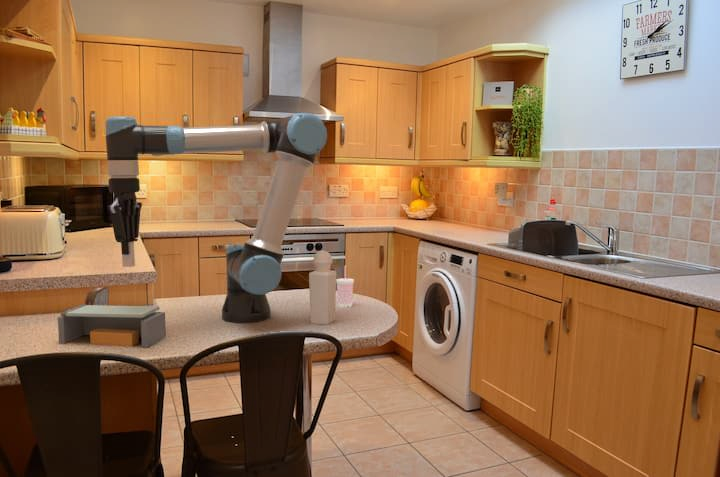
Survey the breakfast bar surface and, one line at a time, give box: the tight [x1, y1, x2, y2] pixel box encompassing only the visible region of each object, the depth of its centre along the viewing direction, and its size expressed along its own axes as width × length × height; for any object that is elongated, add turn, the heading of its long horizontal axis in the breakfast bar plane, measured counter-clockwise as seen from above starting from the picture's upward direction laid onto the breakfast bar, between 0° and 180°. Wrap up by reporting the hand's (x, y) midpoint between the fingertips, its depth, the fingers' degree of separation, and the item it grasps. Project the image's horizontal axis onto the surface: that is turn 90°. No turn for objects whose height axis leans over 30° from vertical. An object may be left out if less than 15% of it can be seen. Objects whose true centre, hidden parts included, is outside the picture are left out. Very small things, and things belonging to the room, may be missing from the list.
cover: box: [60, 303, 160, 318], centre depth 158 cm, size 23×9×1 cm, turn 81°
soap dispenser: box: [308, 249, 337, 326], centre depth 178 cm, size 6×6×22 cm
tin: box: [84, 285, 110, 306], centre depth 188 cm, size 15×3×8 cm, turn 5°
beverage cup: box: [336, 264, 355, 308], centre depth 200 cm, size 6×6×14 cm
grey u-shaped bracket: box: [57, 311, 167, 349], centre depth 159 cm, size 25×10×7 cm, turn 81°
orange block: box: [89, 328, 140, 347], centre depth 157 cm, size 12×3×4 cm, turn 80°
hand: (128, 266), depth 157 cm, fingers closed
